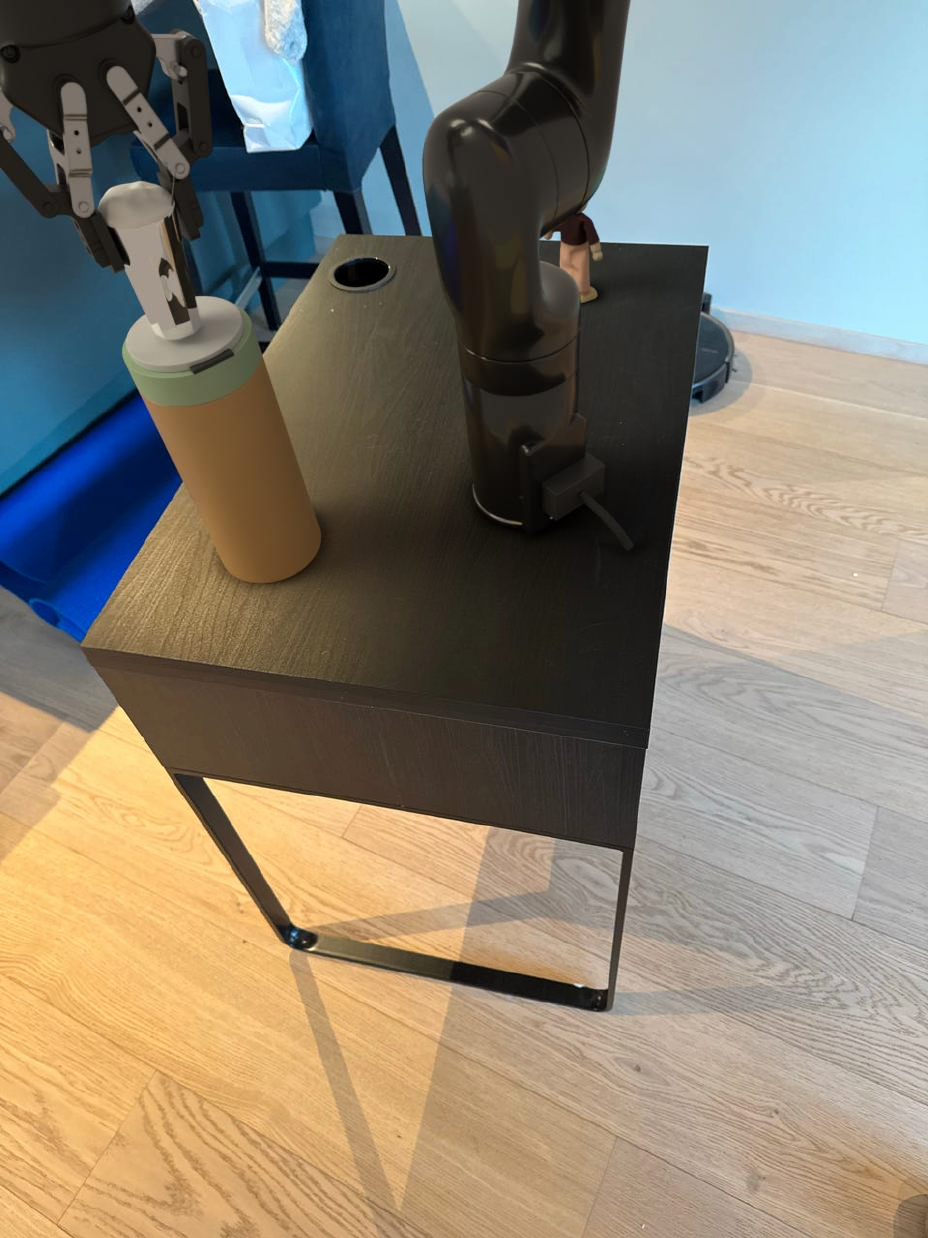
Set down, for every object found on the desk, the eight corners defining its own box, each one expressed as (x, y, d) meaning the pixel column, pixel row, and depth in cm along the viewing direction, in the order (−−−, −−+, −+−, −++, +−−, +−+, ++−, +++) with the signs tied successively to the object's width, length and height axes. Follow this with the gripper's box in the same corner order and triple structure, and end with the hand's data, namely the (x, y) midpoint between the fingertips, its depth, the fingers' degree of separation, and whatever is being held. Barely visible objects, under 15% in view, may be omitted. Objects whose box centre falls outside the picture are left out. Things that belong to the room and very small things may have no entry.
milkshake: (216, 344, 55) (165, 188, 47) (137, 347, 55) (73, 192, 48) (230, 307, 58) (184, 153, 50) (154, 310, 58) (97, 158, 51)
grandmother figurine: (611, 291, 94) (618, 174, 83) (596, 309, 92) (600, 192, 82) (551, 275, 96) (550, 161, 86) (534, 293, 95) (531, 178, 85)
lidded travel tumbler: (204, 541, 76) (98, 328, 58) (290, 494, 78) (213, 276, 61) (250, 600, 71) (149, 388, 54) (340, 548, 74) (272, 329, 56)
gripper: (-124, -36, 35) (67, 323, 49) (183, -123, 39) (280, 229, 53) (-160, -68, 39) (26, 273, 53) (123, -144, 43) (227, 189, 57)
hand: (153, 249), depth 53 cm, fingers closed on milkshake, 4 cm apart
